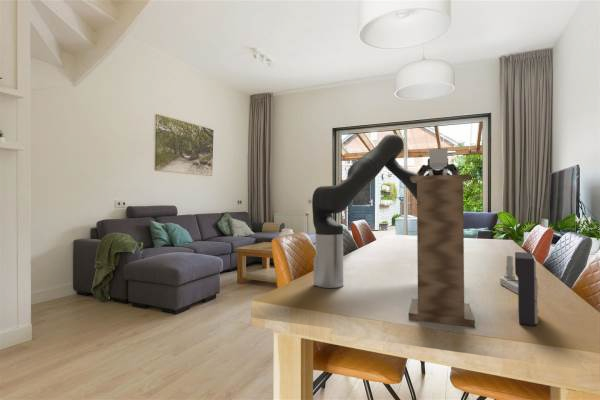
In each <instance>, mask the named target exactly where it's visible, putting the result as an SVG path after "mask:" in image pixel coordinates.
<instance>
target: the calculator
mask: <svg viewBox="0 0 600 400" xmlns="http://www.w3.org/2000/svg"><path fill="white" fill-rule="evenodd" d="M514 269H515V270H514V272H515V273H514V274H515V276H516V278H518V294H517V297H518V298H517V302H518V303H517V305H518V307H517V309H518V311H517V313H518V324H519V325H525V326H530V327H531V326H532V327H535V326H536V324H539V323H538V322H539V318H538V314H539V310H538V309H539V308H538V305H539V304H538V294H539V282H538V279H537V260H536V258H535V255H533V253H532V252H522V251H521V252H520V251H515V252H514Z"/></svg>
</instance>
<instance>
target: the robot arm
mask: <svg viewBox="0 0 600 400" xmlns="http://www.w3.org/2000/svg"><path fill="white" fill-rule="evenodd" d="M404 143H405V142H404V141H403V139H402V137H401V136H400V135H398V134H395V133H390V134H386V135H384V137H383V138H382V139H381V140H380V141H379V142H378V143H377V144H376V146H375V147H373V148H372V149H371V150H369V151H367V152H366V153H365V154H364V155H363V156H360V157H359V158H358V159H357V160H355V162H353V164H351V165H350V166H349V168H348V170H347V174H346V175H347V178H346V179H345V180H343V181H342V182H340V183H339V184H335V185H323V186H318V187H317V188H316V189H314V191H313V194H312V199H311V207H312V210H311V211H312V223H313V226H314V231H315V256H314V257H313V286H314V285H315V286H314V287H316V286H317V287H319V288H324V289H325V288H326V289H336V288H342V287H343V286H344V227H343V225H342V224H341V223H339V222H337V221H336V220H335V218H334V216H333V214H340V213H342V212H344V211H345V210H346V209H347V208H348V207H349V206H350V205H351V203H352V201H353V200H354V199H355V198H356V197H357V195H359V193H360V192H362V191H363V189H364V188H365V187H367V185H368V184H370V183H371V182H372V181H373V180H374V179H375V178H376V177H377V176H378V175H379V174H380V173H381V171H382V170H383V169H384V168H386V169H387V170H388V171H389V172H390V173H391V174H392V175H394V176H395V178H397V179H398V180H399V181H400V182H401V183H402V184H403V186H405V187H406V189H408V191H409V192H410V193H411V195H412V196H413V198H414V199H415V200H416V201H417V183H413V182H412V181H411V180H410V176H429V175H461V172H460V170H459V169H458V167H457V166H456V165H455V163H450V164H449V162H448V163H447V166H446V167H444V169H439V170H433V169H432V167H430V164H429V158H428V159H427V165H426V164H423V165H421V166H420V168H419V169H418V171H417V172H413V171H412V170H409V169H407V168H404V167H403V166H402V165H401V164H399V162H398V161H397V159H396V158H398V156H399V155H400V154H401V153H402V152H403V150H404V147H405V146H404ZM449 172H450V173H451V174H450V173H449Z"/></svg>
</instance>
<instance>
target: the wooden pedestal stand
mask: <svg viewBox="0 0 600 400" xmlns="http://www.w3.org/2000/svg"><path fill="white" fill-rule="evenodd" d="M470 179H471V174H470V173H468V174H465V173H464V174H461V173H460V175H452V174H451V175H429V176H425V175H424V176H410V180H411V181H412V182H413V183H417V200H416V214H417V215H416V218H417V219H416V220H417V221H416V222H417V223H416V229H417V230H416V232H417V233H416V234H417V237H416V239H417V241H416V243H417V249H416V250H417V252H416V253H417V298H411V301H410V306H409V308H408V309H409V310H408V320H409V321H410V320H412V321H419V322H420V321H421V322H427V323H437V324H447V325H455V326H464V327H470V328H471V327H473V328H475V327H476V320H475V316H474V314H473V312H472V308H471V306H470V303H465V253H464V250H465V247H464V246H465V244H464V243H465V240H464V239H465V236H464V234H465V233H464V232H465V231H464V225H465V224H464V182H467V181H469V180H470Z"/></svg>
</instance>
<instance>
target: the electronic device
mask: <svg viewBox="0 0 600 400" xmlns="http://www.w3.org/2000/svg"><path fill="white" fill-rule="evenodd" d="M505 271H506V272H505V274H504V275H503V276H500V278H499V284H500V285H501V286H504V288H507V289H508V290H510V291H511V292H513V293H515V294H517V295H518V277H516V275H514V257H513V256H511V255H507V256H506V265H505Z"/></svg>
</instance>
